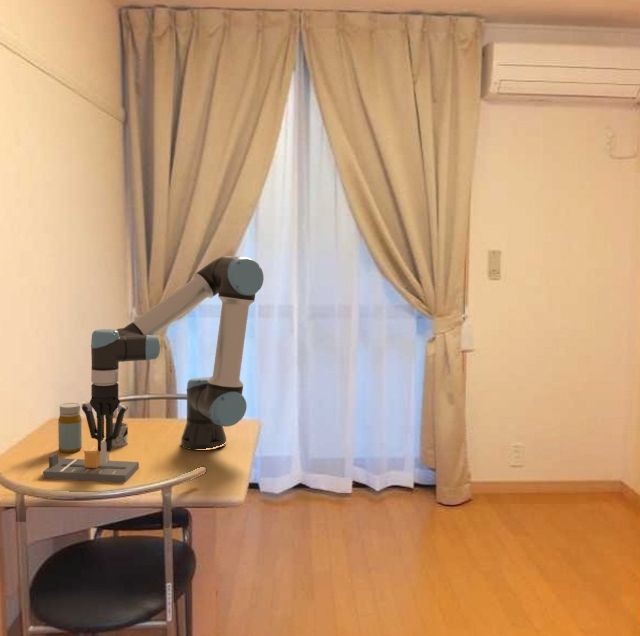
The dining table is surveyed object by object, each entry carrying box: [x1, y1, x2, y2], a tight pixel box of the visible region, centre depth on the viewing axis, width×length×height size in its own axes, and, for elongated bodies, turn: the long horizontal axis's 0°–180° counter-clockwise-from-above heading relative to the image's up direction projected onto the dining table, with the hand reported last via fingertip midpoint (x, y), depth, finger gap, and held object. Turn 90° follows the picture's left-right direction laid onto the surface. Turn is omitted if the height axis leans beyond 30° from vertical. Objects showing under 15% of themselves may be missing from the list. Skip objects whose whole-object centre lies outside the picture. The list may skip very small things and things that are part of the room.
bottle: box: [57, 402, 83, 454], centre depth 219 cm, size 7×7×15 cm
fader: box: [83, 446, 101, 468], centre depth 199 cm, size 4×4×5 cm
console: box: [42, 452, 140, 483], centre depth 199 cm, size 24×12×5 cm, turn 87°
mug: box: [112, 422, 129, 448], centre depth 229 cm, size 10×7×7 cm, turn 20°
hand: (104, 461), depth 199 cm, fingers closed
